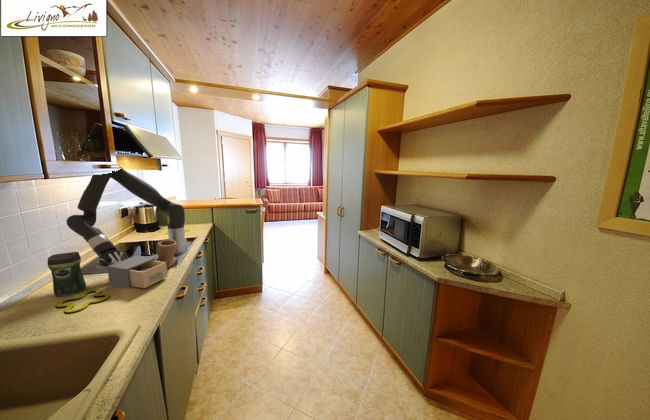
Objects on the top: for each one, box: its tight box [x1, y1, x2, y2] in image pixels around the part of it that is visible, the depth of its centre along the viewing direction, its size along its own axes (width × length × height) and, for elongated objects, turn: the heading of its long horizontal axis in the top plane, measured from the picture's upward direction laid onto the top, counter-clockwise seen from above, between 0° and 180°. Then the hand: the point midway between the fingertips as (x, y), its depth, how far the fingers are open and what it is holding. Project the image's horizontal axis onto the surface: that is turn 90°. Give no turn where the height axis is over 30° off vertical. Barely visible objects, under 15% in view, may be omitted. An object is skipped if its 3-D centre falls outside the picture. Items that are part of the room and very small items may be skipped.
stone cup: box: [156, 239, 178, 269], centre depth 133 cm, size 15×12×15 cm
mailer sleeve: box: [106, 255, 156, 290], centre depth 115 cm, size 14×12×10 cm
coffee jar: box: [47, 251, 87, 298], centre depth 102 cm, size 10×8×19 cm
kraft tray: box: [128, 260, 168, 289], centre depth 114 cm, size 12×20×8 cm, turn 77°
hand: (123, 270), depth 116 cm, fingers closed
